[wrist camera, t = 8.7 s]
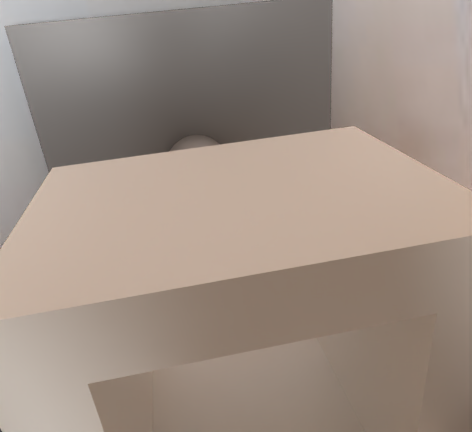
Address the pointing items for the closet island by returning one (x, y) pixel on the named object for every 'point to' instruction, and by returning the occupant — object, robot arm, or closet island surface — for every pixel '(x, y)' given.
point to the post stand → (175, 78)
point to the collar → (241, 293)
